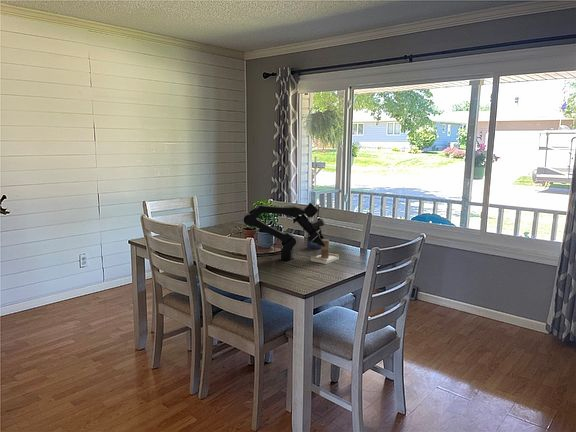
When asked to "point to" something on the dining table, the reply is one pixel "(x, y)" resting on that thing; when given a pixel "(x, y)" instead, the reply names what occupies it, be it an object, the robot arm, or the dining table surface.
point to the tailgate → (325, 260)
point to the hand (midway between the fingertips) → (325, 244)
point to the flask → (312, 245)
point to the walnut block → (325, 249)
